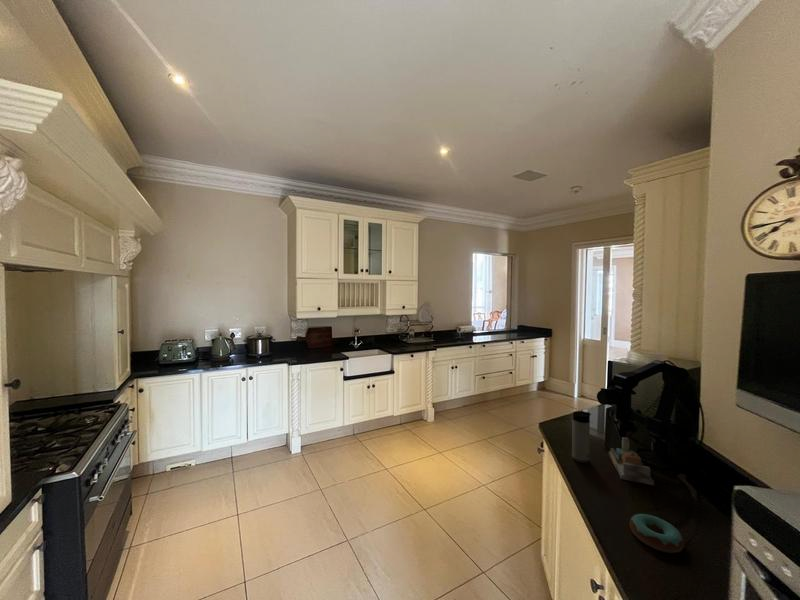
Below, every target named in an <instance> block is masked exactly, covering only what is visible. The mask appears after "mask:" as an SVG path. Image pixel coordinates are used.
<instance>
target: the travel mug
mask: <svg viewBox="0 0 800 600" xmlns="http://www.w3.org/2000/svg"><path fill="white" fill-rule="evenodd" d="M591 415H592V414H591V413H590V412H589V411H583V410H578V411H577V410H576V411H574V412H572V433H571V434H572V435H571V436H572V437H571V439H572V440H571V441H572V442H571V444H572V445H571V459H572V460H574V461H575V462H578V463H579V464H581V463H582V464H588V463H589V462H590V434H591V433H590V432H591V431H590V430H591V429H590V427H591V426H590V425H591V423H590V422H591V420H590V417H591Z"/></svg>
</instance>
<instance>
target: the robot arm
mask: <svg viewBox="0 0 800 600" xmlns="http://www.w3.org/2000/svg"><path fill="white" fill-rule="evenodd" d="M659 373H662V374H661V378H662V381H663V388H662V392H661V395H660V398H659V402H658V405H657V409H656V413H655V415H653V416H646V415H645V414H643V411H641V409H638V408H635V409H633V408H632V397H633V396H632V395H637V392H636V391H635V390H634V389H635V388H636V387H638V386H639V383H640V382H642V381H644V380H646V379H649V378H652V377H653V376H655V375H657V374H659ZM689 376H690V372H689V371H688V369H686V368H685V367H682V366H681V367H680V366H676V365H672V364H670V363H667V361H663V360H658V359H654V360H652V361H651V362H649V363H648V364H645V365H643V366H640V367H638V368H636V369H633V370H631V371H623V372H622V371H621V372H618V373H615V374H614V375H613V377H612V379H611V380H610V382H609V383H608V384H607V386H606V388H604V387H601V388H600V390H599V391H598V392H597V394H596V399H597V401H598V403H599V404H600V405H602V406H607V405H608V406H609V405H610V406H611V405H612V406H613V407H614V409H610V410H609V416H610V418H613V417H614V419H613V420H612V422H613V424H614V427H615V429H616V432H617V434H618V436H619V439H620V440H621V441H622V437H626V436H627V433H628V432H630V433H636V434H637V433H639V427H638V426H637V425H636V424H635V423H634V421H635V422H636V423H639V424H641V425H642V426H646V431H647V432H648V434H649V437H652V440H651V441H650V450H651V451H652V453H653V454H654V455H655V456H656V457H662V458H668V459H675V458H676V457H675V456H674V446H675V445H678V442H679V439H678V438H677V437H676V436H675V435H674V434H673V429H674V427H673V424H672V422H671V421H672V420H671V418H672V414H673V411H674V408H675V403H676V401H677V398H678V393H679V391H680V388H681V387H683V386H684V385H686V383H687V382H688V379H689ZM626 438H627V437H626Z"/></svg>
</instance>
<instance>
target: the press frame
mask: <svg viewBox="0 0 800 600" xmlns="http://www.w3.org/2000/svg"><path fill="white" fill-rule="evenodd" d="M608 456H609V458H610V460H611V462H612V464H613V465H614V467H615V469H616V471H617V473H618V475H619V477H620V479H621V480H625V481H630V482H635V483H640V484H645V485H650V486H655V480H654V479H653V477H652V476H651V468H650V466H647V465H644V464H643V461H641V465H636V464H631V463H625V462H623V464H622V461H620V459H619V457H618V455H617V454H616V449H614V447H610V450H609V451H608Z"/></svg>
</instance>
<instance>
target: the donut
mask: <svg viewBox="0 0 800 600" xmlns="http://www.w3.org/2000/svg"><path fill="white" fill-rule="evenodd" d="M629 526H630V527H629V528H630V529H631V532H632V533H633V534H634V536H636V538H637V539H638V540H639V541H640V542H642V543H643V544H644V545H647V546H648V547H650V548H652V549H654V550H657V551H660V552H662V553H668V554H676V553H680V552H682V551H683V549H684V547H685V540H684V539H685V538H684V537H683V535H682V534H681V532H680V531H679V530H678V529H677V528H676V527H675V526H674V525H673V524H671V523H670V522H667V521H665V520H664V519H662V518H660V517H657V516H655V515H652V514H647V513H638V514H637V513H636V514H634V515H633V516H631V517H630V520H629Z"/></svg>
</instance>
